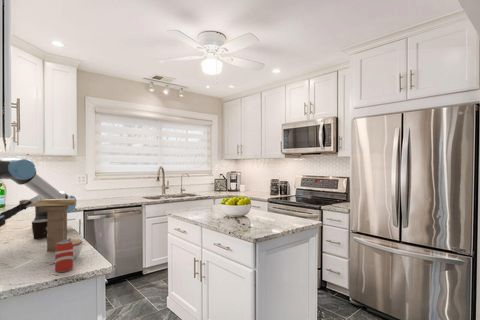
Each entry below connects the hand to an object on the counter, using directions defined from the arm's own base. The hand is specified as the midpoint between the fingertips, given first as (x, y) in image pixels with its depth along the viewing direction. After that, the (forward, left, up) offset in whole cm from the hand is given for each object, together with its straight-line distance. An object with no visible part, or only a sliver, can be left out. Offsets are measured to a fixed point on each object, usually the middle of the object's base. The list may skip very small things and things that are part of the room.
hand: (40, 197), depth 144 cm
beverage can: (+33, +19, -27) cm, 47 cm away
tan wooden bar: (0, +4, -4) cm, 6 cm away
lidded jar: (+17, +17, -27) cm, 37 cm away
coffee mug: (-29, -8, -27) cm, 41 cm away
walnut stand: (0, +6, -27) cm, 28 cm away
